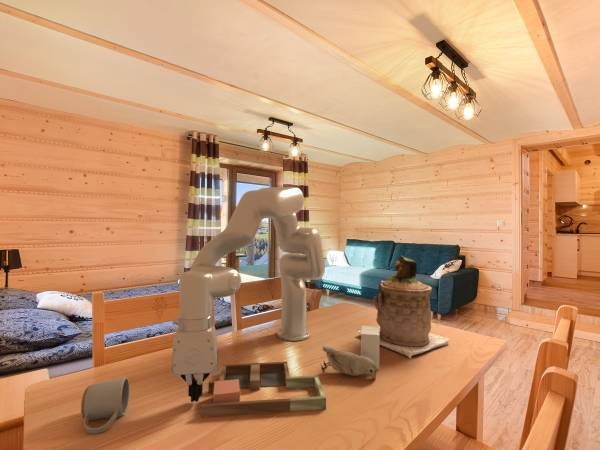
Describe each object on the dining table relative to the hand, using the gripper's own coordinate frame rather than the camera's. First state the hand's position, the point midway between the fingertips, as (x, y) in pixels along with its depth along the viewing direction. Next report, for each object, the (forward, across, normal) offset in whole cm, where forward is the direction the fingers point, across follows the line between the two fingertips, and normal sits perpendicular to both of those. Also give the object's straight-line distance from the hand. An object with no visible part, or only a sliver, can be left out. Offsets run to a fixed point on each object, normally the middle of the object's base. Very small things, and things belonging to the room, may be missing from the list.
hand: (195, 398), depth 75 cm
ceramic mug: (+2, -18, -4) cm, 19 cm away
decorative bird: (+2, +41, +10) cm, 42 cm away
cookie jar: (+2, +68, +33) cm, 76 cm away
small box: (+2, +49, +16) cm, 52 cm away
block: (+2, +7, 0) cm, 7 cm away
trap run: (+1, +17, +4) cm, 17 cm away
